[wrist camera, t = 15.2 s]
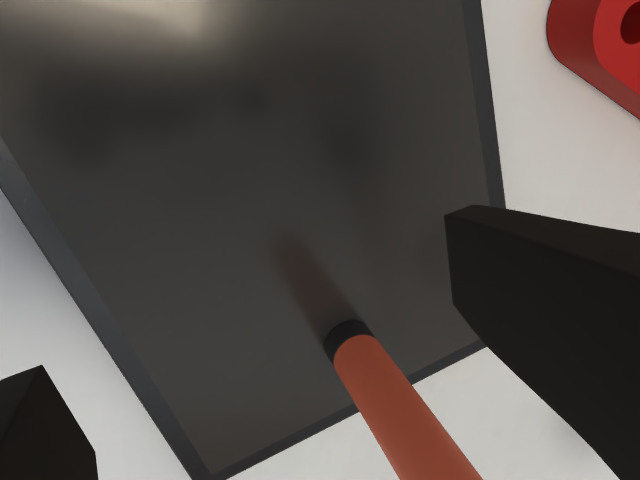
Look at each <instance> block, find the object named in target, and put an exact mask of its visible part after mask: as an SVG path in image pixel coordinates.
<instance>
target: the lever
mask: <svg viewBox="0 0 640 480" xmlns="http://www.w3.org/2000/svg"><path fill="white" fill-rule="evenodd" d="M547 36H548V42H549V46H550V48H551V51H552V53H553V54H554V56H555V57H556V58H557V60H558V61H560V62H561V63H562V64H563V65H565V66H566V67H568V68H569V69H570V70H572V71H573V72H574V73H576V74H577V75H579V76H580V77H581V78H583V79H584V80H586V81H587V82H588V83H590V84H591V85H593V86H594V87H595V88H597V89H598V90H600V91H601V92H602V93H604V94H605V95H606V96H608V97H609V98H611V99H612V100H613V101H615V102H616V103H618V104H619V105H620V106H622V107H623V108H625V109H626V110H627V111H629V112H630V113H631V114H633V115H634V116H636V117H637V118H638V119H640V0H553V1H552V4H551V6H550V10H549V14H548V20H547Z"/></svg>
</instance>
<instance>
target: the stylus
mask: <svg viewBox="0 0 640 480" xmlns="http://www.w3.org/2000/svg"><path fill="white" fill-rule="evenodd" d="M325 352H326V355H327V356H328V358H329V360H330V362H331V363H332V365H333V367H334V368H335V370H336V372H337V373H338V375H339V377H340V379H341V380H342V382H343V384H344V385H345V387H346V389H347V391H348V392H349V394H350V396H351V397H352V399H353V401H354V402H355V404H356V406H357V408H358V409H359V411H360V413H361V414H362V416H363V418H364V419H365V421H366V423H367V425H368V426H369V428H370V430H371V431H372V433H373V435H374V436H375V438H376V440H377V442H378V443H379V445H380V447H381V448H382V450H383V452H384V453H385V455H386V457H387V459H388V460H389V462H390V464H391V465H392V467H393V469H394V470H395V472H396V474H397V476H398V477H399V479H400V480H483V479H482V478H481V476H480V475H479V474H478V472H477V471H476V470H475V468H474V467H473V466H472V464H471V463H470V462H469V460H468V459H467V458H466V456H465V455H464V454H463V452H462V451H461V450H460V448H459V447H458V446H457V444H456V443H455V442H454V441H453V439H452V438H451V437H450V435H449V434H448V433H447V431H446V430H445V429H444V427H443V426H442V425H441V423H440V422H439V421H438V419H437V418H436V417H435V415H434V414H433V413H432V411H431V410H430V409H429V407H428V406H427V405H426V404H425V402H424V401H423V400H422V398H421V397H420V396H419V394H418V393H417V392H416V390H415V389H414V388H413V386H412V385H411V384H410V382H409V381H408V380H407V378H406V377H405V376H404V374H403V373H402V372H401V370H400V369H399V368H398V366H397V365H396V364H395V363H394V361H393V360H392V359H391V357H390V356H389V355H388V353H387V352H386V351H385V349H384V348H383V347H382V345H381V344H380V343H379V341H378V340H377V339H376V337H375V336H374V335H373V333H372V332H371V331H370V329H369V328H368V327H367V326H366V325H365V324H364V323H362V322H359V321H347V322H344V323H342V324H340V325H338V326H337V327H335V328H334V329H333V330H332V331H331V332H330V333H329V335H328V337H327V339H326V342H325Z"/></svg>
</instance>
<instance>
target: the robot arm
mask: <svg viewBox="0 0 640 480" xmlns="http://www.w3.org/2000/svg"><path fill="white" fill-rule="evenodd" d="M444 222H445V231H446V241H447V251H448V261H449V271H450V281H451V291H452V301H453V305H454V306H455V307H456V309H457V310H458V311H459V313H460V314H461V315H462V317H463V318H464V319H465V321H466V322H467V323H468V324H469V326H470V327H471V328H472V329H473V331H474V332H475V333H476V334H477V335H478V337H479V338H480V339H481V340H482V342H483V343H484V344H485V345H486V346H487V347H488V348H489V349H490V350H491V351H492V352H493V353H494V354H495V355H496V356H497V357H498V358H499V359H500V360H502V361H503V362H504V363H505V364H506V365H507V366H508V367H509V368H510V369H511V370H512V371H513V372H514V373H515V374H516V375H517V376H518V377H519V378H520V379H521V380H522V381H523V382H525V383H526V384H527V385H528V386H529V387H530V388H531V389H532V390H533V391H534V392H535V393H536V394H537V395H538V396H539V397H540V398H541V399H543V400H544V401H545V402H546V403H547V404H548V405H549V406H550V407H551V408H552V409H553V410H554V411H555V412H556V413H557V414H558V415H559V416H561V417H562V418H563V419H564V420H565V421H566V422H567V423H568V424H569V425H570V426H571V427H572V428H573V429H574V430H575V431H576V432H577V433H578V434H579V435H580V436H581V437H582V438H583V439H584V440H585V441H586V442H587V443H588V444H589V445H590V446H591V447H592V448H593V449H594V450H595V451H596V453H597V454H598V455H599V456H600V457H601V458H602V460H603V461H604V462H605V463H606V464H607V465H608V466H609V468H610V469H611V470H612V471H613V472H614V473H615V474H616V476H617V477H618V478H619V479H620V480H640V233H636V232H629V231H622V230H616V229H611V228H605V227H599V226H593V225H588V224H582V223H577V222H572V221H567V220H561V219H556V218H551V217H546V216H541V215H536V214H531V213H525V212H520V211H515V210H509V209H504V208H498V207H491V206H483V205H470V206H467V207H465V208H462V209H459V210H457V211H454V212H451V213H448V214H446V215H444ZM0 480H98V473H97V464H96V455H95V451H94V449H93V447H92V446H91V444H90V442H89V441H88V439H87V437H86V436H85V434H84V433H83V431H82V429H81V428H80V426H79V424H78V423H77V421H76V419H75V418H74V416H73V414H72V413H71V411H70V410H69V408H68V406H67V405H66V403H65V401H64V400H63V398H62V396H61V395H60V393H59V391H58V390H57V388H56V387H55V385H54V383H53V382H52V380H51V378H50V377H49V375H48V373H47V372H46V370H45V368H44V367H43V365H40V366H37V367H34V368H31V369H29V370H26V371H23V372H21V373H18V374H15V375H13V376H10V377H7V378H5V379H2V380H1V381H0Z"/></svg>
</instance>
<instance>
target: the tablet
mask: <svg viewBox="0 0 640 480" xmlns="http://www.w3.org/2000/svg"><path fill="white" fill-rule="evenodd" d="M0 188H1V190H2V192H3V193H4V195H5V196H6V198H7V199H8V201H9V202H10V204H11V205H12V207H13V208H14V210H15V211H16V213H17V214H18V216H19V217H20V219H21V220H22V222H23V223H24V225H25V227H26V228H27V230H28V231H29V233H30V234H31V236H32V237H33V239H34V240H35V242H36V243H37V245H38V246H39V248H40V249H41V251H42V252H43V254H44V255H45V257H46V258H47V260H48V262H49V263H50V265H51V266H52V268H53V269H54V271H55V272H56V274H57V275H58V277H59V278H60V280H61V281H62V283H63V284H64V286H65V287H66V289H67V290H68V292H69V293H70V295H71V297H72V298H73V300H74V301H75V303H76V304H77V306H78V307H79V309H80V310H81V312H82V313H83V315H84V316H85V318H86V319H87V321H88V322H89V324H90V325H91V327H92V329H93V330H94V332H95V333H96V335H97V336H98V338H99V339H100V341H101V342H102V344H103V345H104V347H105V348H106V350H107V351H108V353H109V354H110V356H111V357H112V359H113V360H114V362H115V364H116V365H117V367H118V368H119V370H120V371H121V373H122V374H123V376H124V377H125V379H126V380H127V382H128V383H129V385H130V386H131V388H132V389H133V391H134V392H135V394H136V395H137V397H138V399H139V400H140V402H141V403H142V405H143V406H144V408H145V409H146V411H147V412H148V414H149V415H150V417H151V418H152V420H153V421H154V423H155V424H156V426H157V427H158V429H159V430H160V432H161V434H162V435H163V437H164V438H165V440H166V441H167V443H168V444H169V446H170V447H171V449H172V450H173V452H174V453H175V455H176V456H177V458H178V459H179V461H180V462H181V464H182V465H183V467H184V469H185V470H186V472H187V473H188V475H189V476H190V478H191V479H192V480H226V479H228V478H230V477H232V476H234V475H236V474H238V473H240V472H242V471H244V470H246V469H248V468H250V467H252V466H254V465H256V464H258V463H260V462H262V461H264V460H266V459H268V458H270V457H272V456H273V455H275V454H277V453H279V452H281V451H283V450H285V449H287V448H289V447H291V446H293V445H295V444H297V443H299V442H301V441H303V440H305V439H307V438H309V437H311V436H313V435H315V434H317V433H319V432H321V431H323V430H324V429H326V428H328V427H330V426H332V425H334V424H336V423H338V422H340V421H342V420H344V419H346V418H348V417H350V416H352V415H354V414H356V413H358V412H360V411H359V409H358V408H357V406H356V404H355V402H354V401H353V399H352V397H351V396H350V394H349V392H348V391H347V389H346V387H345V385H344V384H343V382H342V380H341V379H340V377H339V375H338V373H337V372H336V370H335V368H334V367H333V365H332V363H331V362H330V360H329V358H328V356H327V355H326V352H325V342H326V339H327V337H328V335H329V333H330V332H331V331H332V330H333V329H334V328H335V327H337V326H338V325H340V324H342V323H344V322H347V321H359V322H362V323H364V324H365V325H366V326H367V327H368V328H369V329H370V331H371V332H372V333H373V335H374V336H375V337H376V339H377V340H378V341H379V343H380V344H381V345H382V347H383V348H384V349H385V351H386V352H387V353H388V355H389V356H390V357H391V359H392V360H393V361H394V363H395V364H396V365H397V366H398V368H399V369H400V370H401V372H402V373H403V374H404V376H405V377H406V378H407V380H408V381H409V382H410V384H411V385H413V384H415V383H417V382H419V381H421V380H423V379H425V378H427V377H428V376H430V375H432V374H434V373H436V372H438V371H440V370H442V369H444V368H446V367H448V366H450V365H452V364H454V363H456V362H458V361H460V360H462V359H464V358H466V357H468V356H470V355H472V354H474V353H476V352H478V351H479V350H481V349H483V348H485V347H487V346H486V345H485V344H484V343H483V342H482V340H481V339H480V338H479V337H478V335H477V334H476V333H475V332H474V331H473V329H472V328H471V327H470V326H469V324H468V323H467V322H466V321H465V319H464V318H463V317H462V315H461V314H460V313H459V311H458V310H457V309H456V307H455V306H454V305H453V301H452V291H451V281H450V271H449V261H448V251H447V241H446V231H445V222H444V215H446V214H448V213H451V212H454V211H457V210H459V209H462V208H465V207H467V206H470V205H483V206H491V207H498V208H504V209H506V205H505V197H504V188H503V180H502V172H501V164H500V156H499V147H498V139H497V131H496V123H495V115H494V106H493V98H492V90H491V82H490V74H489V66H488V57H487V49H486V41H485V33H484V25H483V16H482V8H481V0H0Z"/></svg>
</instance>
